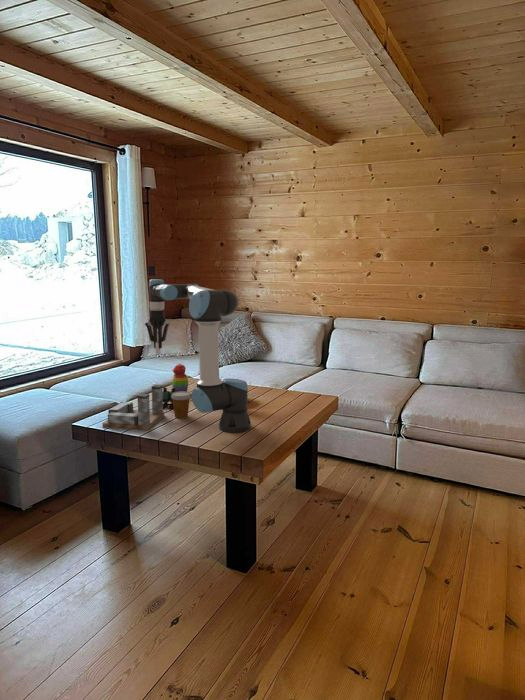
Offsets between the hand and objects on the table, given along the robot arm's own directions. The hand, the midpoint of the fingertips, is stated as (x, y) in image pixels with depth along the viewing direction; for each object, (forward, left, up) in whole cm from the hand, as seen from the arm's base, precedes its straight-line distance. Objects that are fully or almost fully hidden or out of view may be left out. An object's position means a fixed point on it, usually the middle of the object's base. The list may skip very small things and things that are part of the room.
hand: (158, 354), depth 254 cm
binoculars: (-5, -3, -29) cm, 29 cm away
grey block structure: (-16, +20, -28) cm, 38 cm away
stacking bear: (+16, -20, -29) cm, 38 cm away
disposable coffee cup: (-22, -2, -29) cm, 36 cm away
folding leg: (-4, +20, -24) cm, 32 cm away
